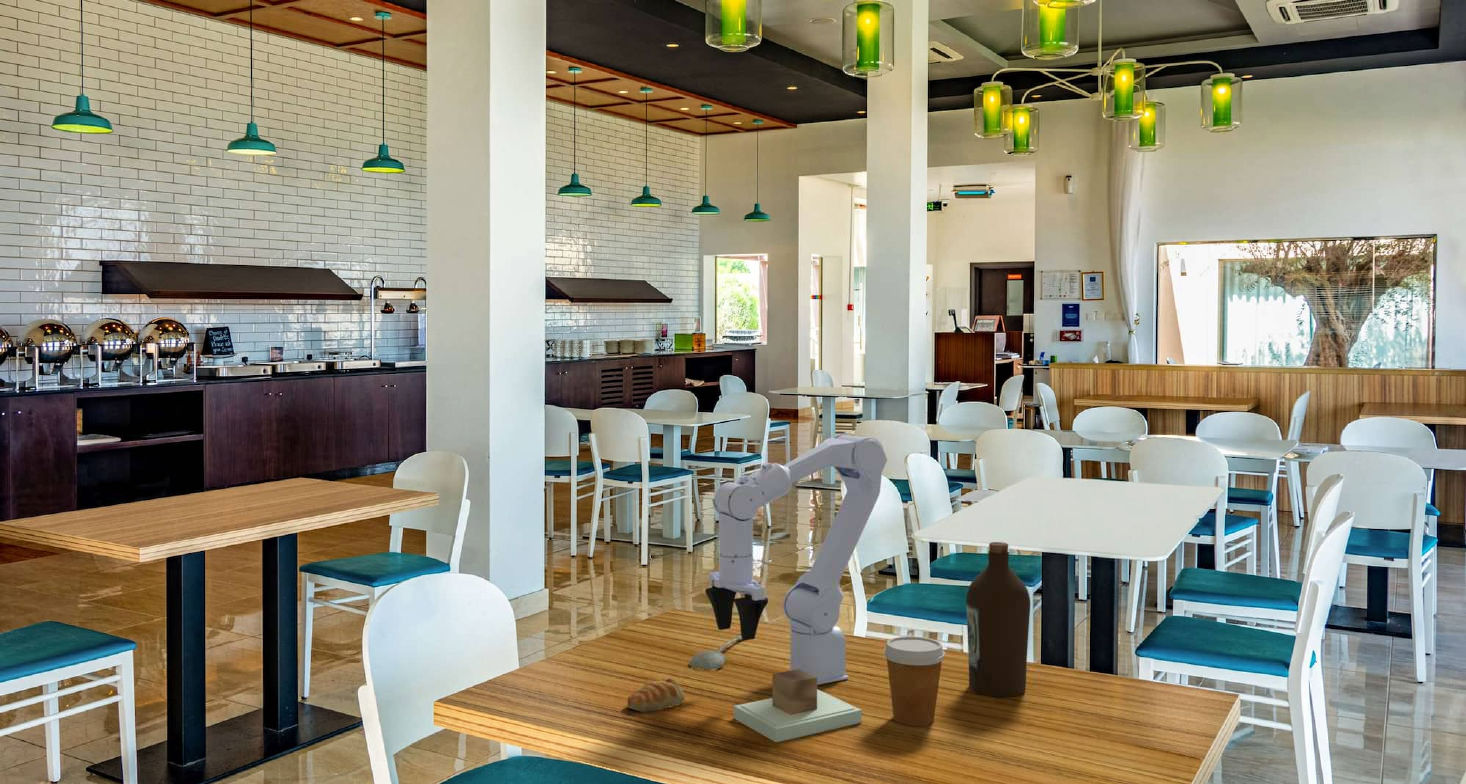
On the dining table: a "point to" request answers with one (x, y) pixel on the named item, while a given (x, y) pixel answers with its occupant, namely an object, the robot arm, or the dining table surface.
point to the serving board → (797, 718)
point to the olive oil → (997, 627)
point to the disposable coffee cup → (914, 678)
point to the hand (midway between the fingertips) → (736, 634)
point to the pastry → (656, 695)
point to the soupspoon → (711, 657)
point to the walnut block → (794, 691)
